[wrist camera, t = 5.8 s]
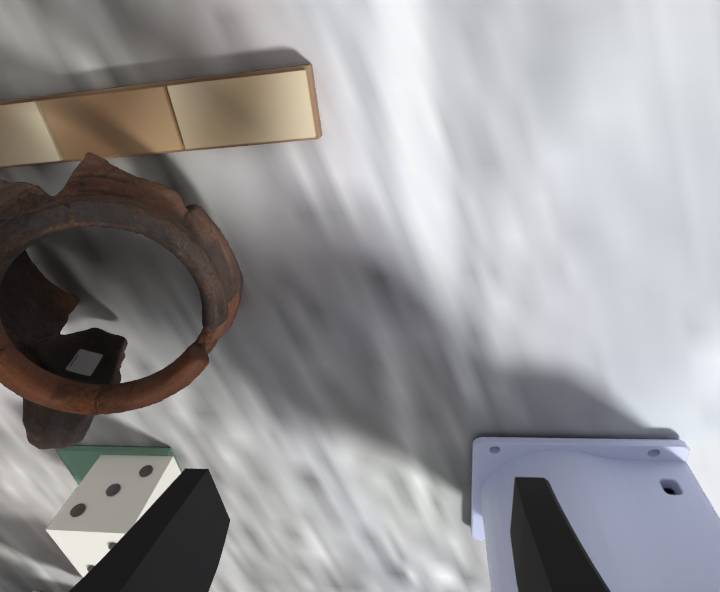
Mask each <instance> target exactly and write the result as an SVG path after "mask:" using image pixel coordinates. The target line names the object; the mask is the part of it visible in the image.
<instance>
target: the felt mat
mask: <svg viewBox="0 0 720 592" xmlns="http://www.w3.org/2000/svg"><path fill="white" fill-rule="evenodd" d="M56 452H57V453H58V455H59V456H60V458H61V459H62V461H63V462H64V464H65V465H66V467H67V468H68V470H69V471H70V473H71V475H72V476H73V478H74V479H75V481H76V482H77V484H78V485H79V484H80V483H81V481H82V480H83V479H84V477H85V476H86V474H87V473H88V472H89V470H90V469H91V468H92V466H93V465H94V464H95V462H96V461H97V460H98V458H99V457H100V456H101V455H136V456H173V457H174V459H175V461H176V463H177V465H178V467H179V464H178V462H177V460H176V458H175V456H174V454H173V452H172V449H171V448H162V447H113V446H70V447H67V448H64V449H57V450H56ZM179 469H180V467H179ZM180 471H181V469H180ZM181 473H182V471H181Z"/></svg>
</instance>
